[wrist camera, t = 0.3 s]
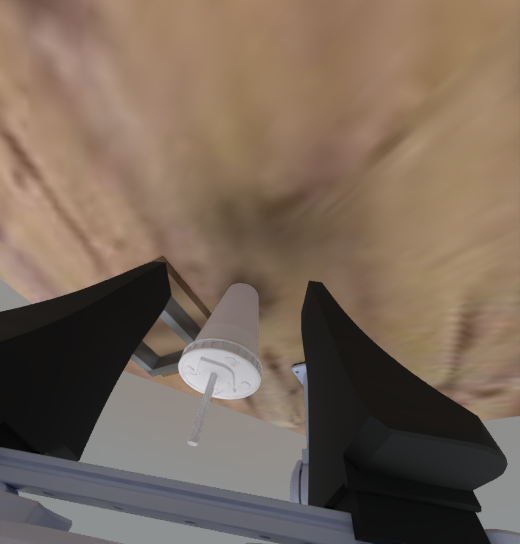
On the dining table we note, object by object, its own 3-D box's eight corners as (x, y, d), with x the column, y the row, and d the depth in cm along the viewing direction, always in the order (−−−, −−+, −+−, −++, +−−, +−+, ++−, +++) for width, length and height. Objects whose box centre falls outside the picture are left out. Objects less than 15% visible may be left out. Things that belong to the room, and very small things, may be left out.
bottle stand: (241, 350, 29) (236, 370, 27) (166, 371, 34) (156, 389, 31) (162, 256, 22) (147, 271, 20) (83, 297, 27) (62, 314, 25)
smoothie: (254, 264, 22) (214, 414, 10) (279, 309, 25) (271, 468, 13) (203, 283, 24) (120, 426, 12) (232, 322, 27) (187, 470, 15)
